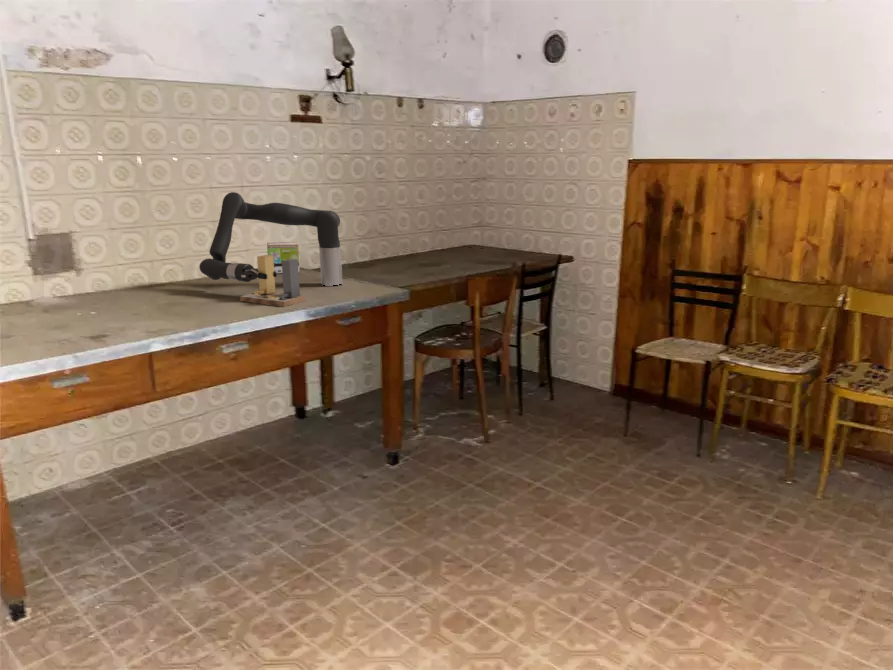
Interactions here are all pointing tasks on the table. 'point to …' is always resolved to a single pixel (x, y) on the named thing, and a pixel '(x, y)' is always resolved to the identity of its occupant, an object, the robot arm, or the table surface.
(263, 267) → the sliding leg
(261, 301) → the divider base
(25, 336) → the table surface
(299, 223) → the robot arm
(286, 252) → the tea box
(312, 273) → the table surface
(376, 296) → the table surface
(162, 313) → the table surface
